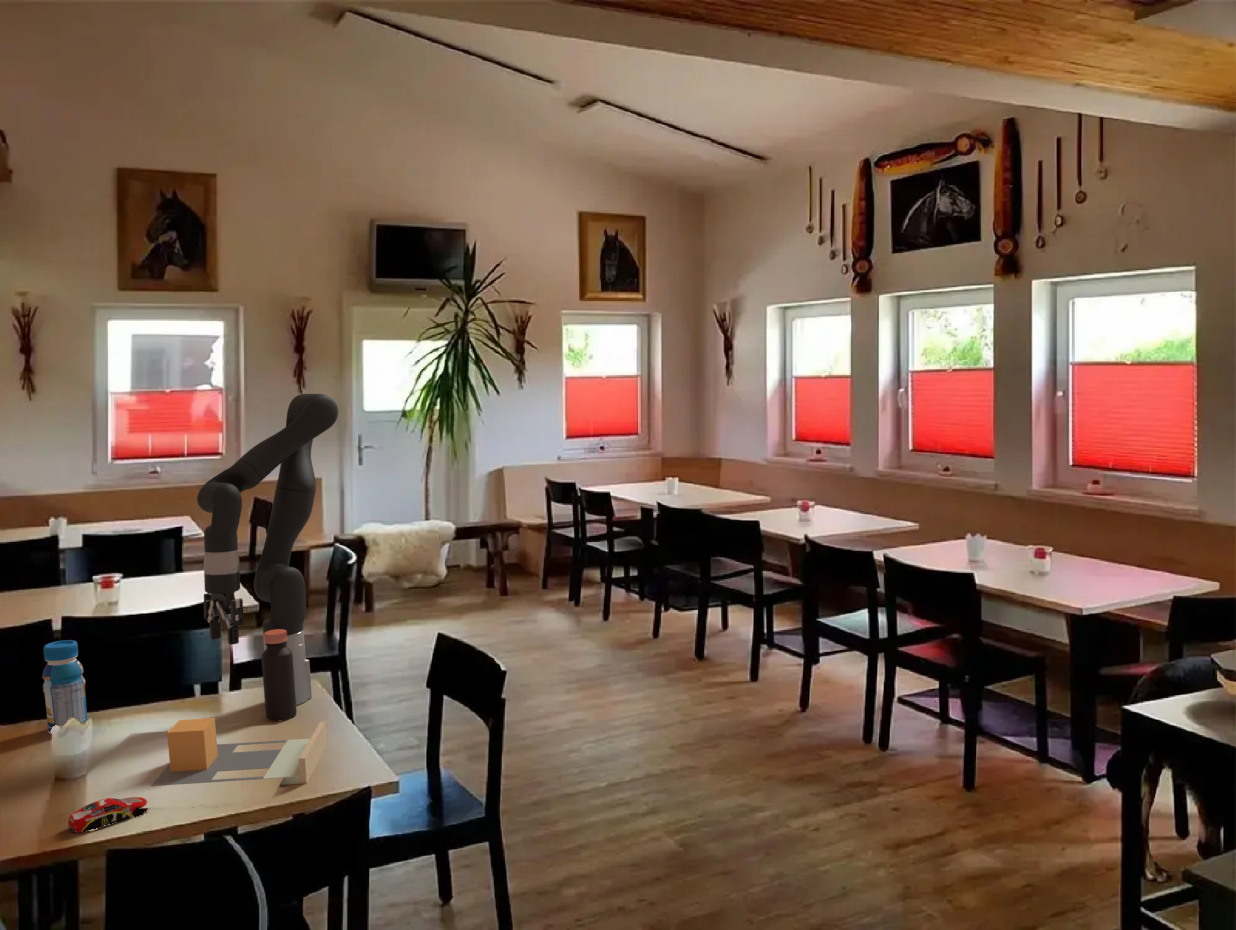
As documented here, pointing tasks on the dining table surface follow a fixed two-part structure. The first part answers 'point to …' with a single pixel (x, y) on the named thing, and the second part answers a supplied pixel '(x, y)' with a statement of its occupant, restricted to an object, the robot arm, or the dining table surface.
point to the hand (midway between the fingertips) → (224, 641)
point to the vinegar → (278, 677)
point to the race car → (106, 813)
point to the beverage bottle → (63, 683)
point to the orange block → (192, 744)
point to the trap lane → (259, 762)
